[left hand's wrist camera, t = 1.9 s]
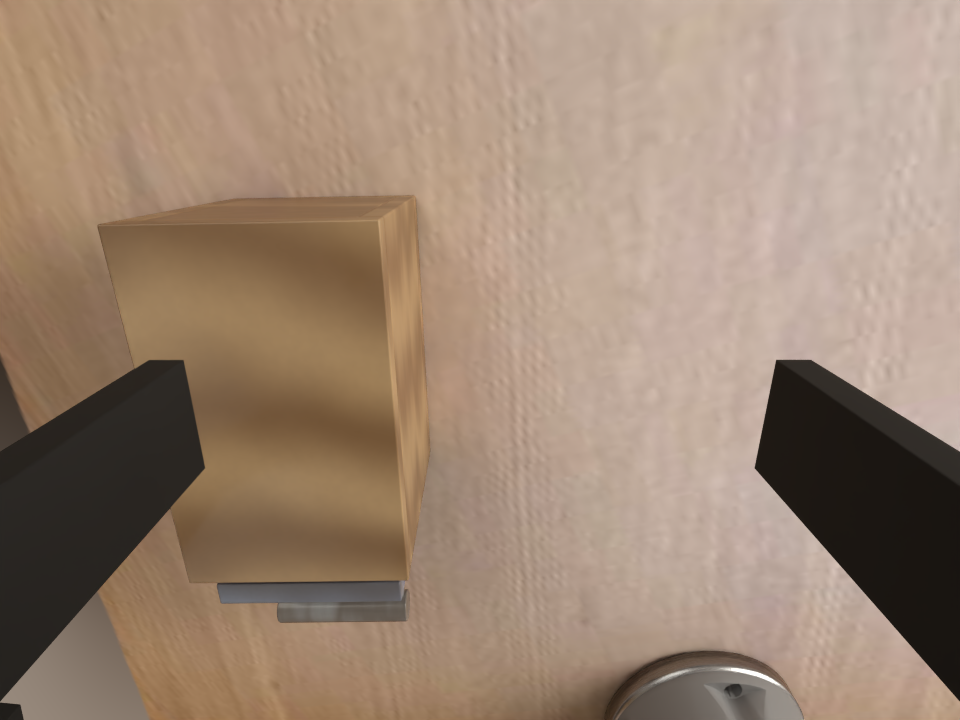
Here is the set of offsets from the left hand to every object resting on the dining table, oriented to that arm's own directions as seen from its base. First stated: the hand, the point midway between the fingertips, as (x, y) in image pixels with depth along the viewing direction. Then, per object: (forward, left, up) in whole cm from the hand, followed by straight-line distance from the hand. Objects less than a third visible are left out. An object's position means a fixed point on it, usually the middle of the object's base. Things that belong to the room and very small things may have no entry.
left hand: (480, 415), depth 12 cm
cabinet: (+6, -8, -21) cm, 23 cm away
